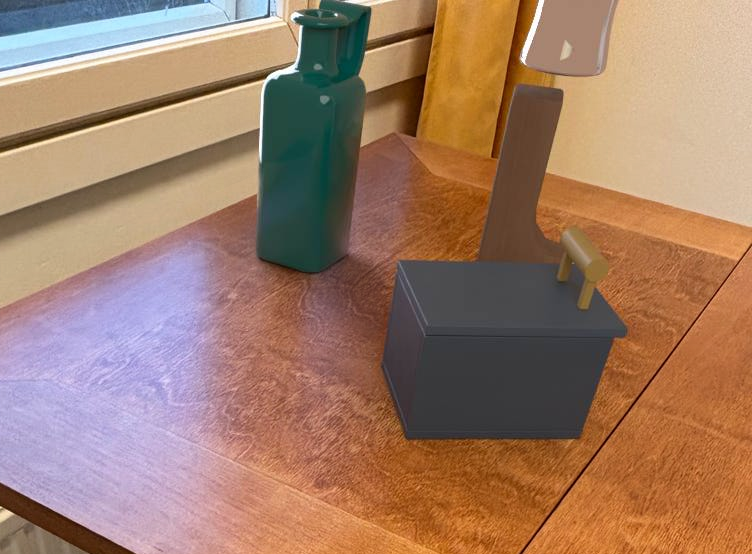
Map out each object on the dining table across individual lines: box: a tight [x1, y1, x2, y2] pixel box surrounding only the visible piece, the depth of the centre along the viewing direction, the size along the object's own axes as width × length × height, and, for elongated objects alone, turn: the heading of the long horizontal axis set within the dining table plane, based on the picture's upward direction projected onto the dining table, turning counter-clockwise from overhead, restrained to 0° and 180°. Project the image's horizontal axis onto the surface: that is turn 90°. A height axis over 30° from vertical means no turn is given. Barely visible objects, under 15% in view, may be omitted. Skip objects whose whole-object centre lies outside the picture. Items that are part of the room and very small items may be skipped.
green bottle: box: [254, 0, 373, 274], centre depth 89 cm, size 10×8×22 cm
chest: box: [380, 270, 615, 440], centre depth 73 cm, size 15×12×9 cm
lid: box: [396, 226, 629, 339], centre depth 68 cm, size 15×12×5 cm
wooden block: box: [475, 83, 565, 264], centre depth 86 cm, size 9×4×18 cm, turn 75°
